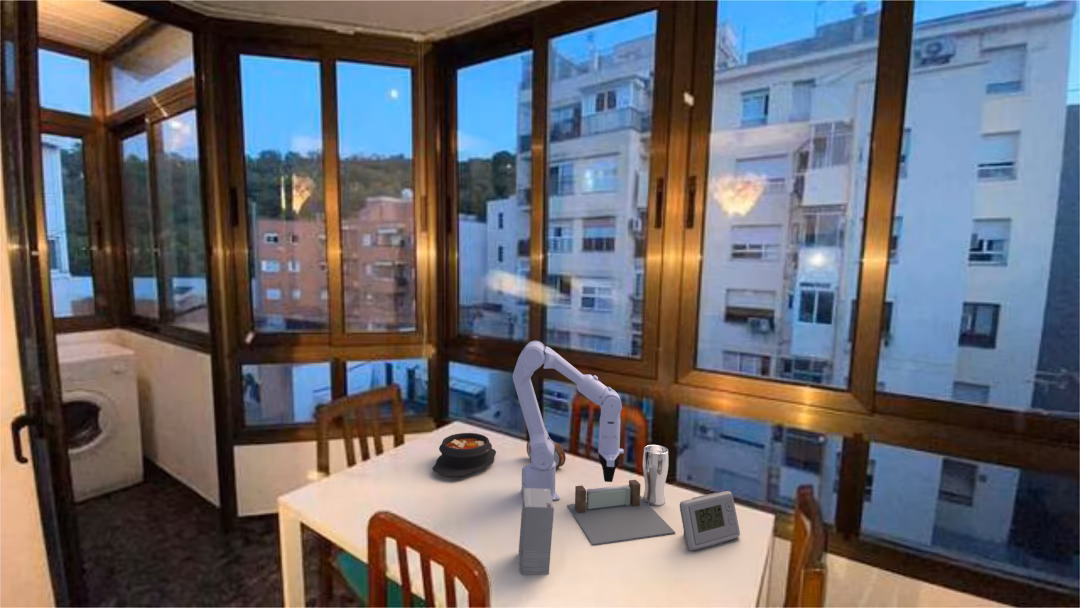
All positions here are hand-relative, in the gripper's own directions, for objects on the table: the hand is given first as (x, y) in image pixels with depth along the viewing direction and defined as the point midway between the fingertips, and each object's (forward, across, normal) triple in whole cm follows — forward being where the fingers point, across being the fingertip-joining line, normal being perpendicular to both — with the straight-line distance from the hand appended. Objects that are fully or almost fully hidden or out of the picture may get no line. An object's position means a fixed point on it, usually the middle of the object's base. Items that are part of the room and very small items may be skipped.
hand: (608, 480), depth 139 cm
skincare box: (+5, -32, +18) cm, 37 cm away
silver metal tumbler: (+6, 0, -13) cm, 14 cm away
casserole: (+5, +17, +45) cm, 48 cm away
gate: (+5, -5, 0) cm, 7 cm away
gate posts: (+5, -5, 0) cm, 8 cm away
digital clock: (+6, -18, -24) cm, 30 cm away
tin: (+5, +20, +20) cm, 29 cm away
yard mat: (+5, -11, -2) cm, 12 cm away
